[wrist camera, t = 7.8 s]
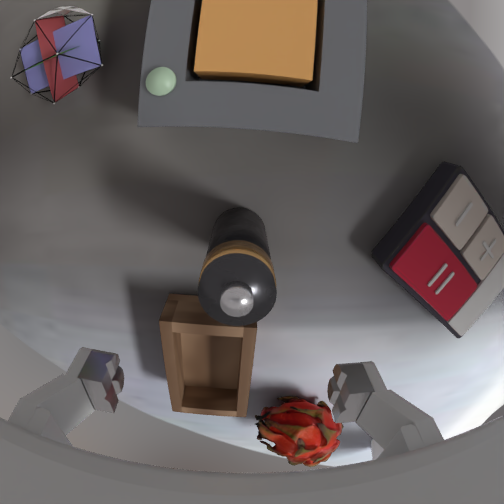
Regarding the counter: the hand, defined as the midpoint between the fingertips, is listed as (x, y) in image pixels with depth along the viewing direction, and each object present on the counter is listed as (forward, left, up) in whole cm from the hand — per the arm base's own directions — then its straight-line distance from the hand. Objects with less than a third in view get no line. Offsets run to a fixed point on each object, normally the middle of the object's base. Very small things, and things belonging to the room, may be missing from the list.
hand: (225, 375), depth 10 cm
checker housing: (0, -14, -14) cm, 20 cm away
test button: (0, -14, -11) cm, 18 cm away
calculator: (-21, 0, -15) cm, 26 cm away
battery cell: (0, 0, -14) cm, 14 cm away
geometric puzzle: (+14, -14, -15) cm, 24 cm away
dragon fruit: (-8, +22, -15) cm, 28 cm away
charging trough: (+2, +12, -14) cm, 19 cm away
